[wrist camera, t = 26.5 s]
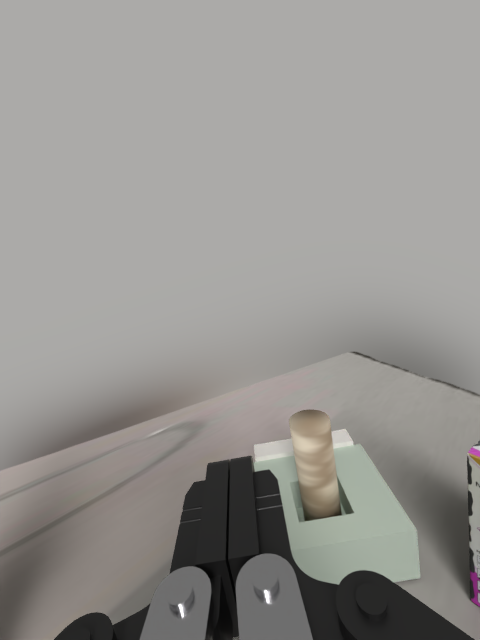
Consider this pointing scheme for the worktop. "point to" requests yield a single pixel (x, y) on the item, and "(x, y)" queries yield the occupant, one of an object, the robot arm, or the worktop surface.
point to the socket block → (349, 523)
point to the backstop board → (286, 446)
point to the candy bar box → (474, 520)
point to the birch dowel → (315, 464)
